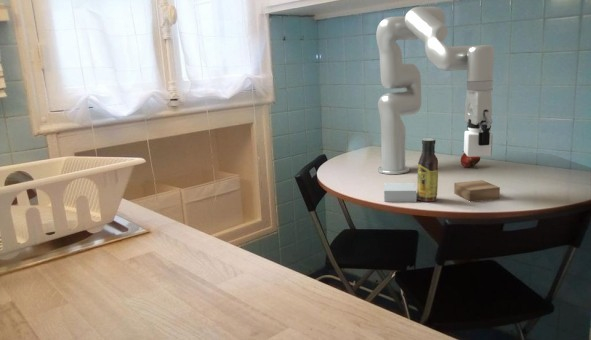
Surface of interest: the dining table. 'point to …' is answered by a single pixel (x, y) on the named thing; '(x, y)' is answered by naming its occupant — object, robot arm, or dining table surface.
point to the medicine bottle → (475, 142)
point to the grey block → (399, 192)
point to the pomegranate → (469, 161)
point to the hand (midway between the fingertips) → (477, 142)
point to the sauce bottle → (427, 172)
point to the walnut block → (476, 190)
